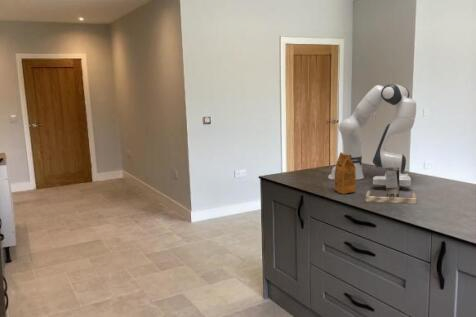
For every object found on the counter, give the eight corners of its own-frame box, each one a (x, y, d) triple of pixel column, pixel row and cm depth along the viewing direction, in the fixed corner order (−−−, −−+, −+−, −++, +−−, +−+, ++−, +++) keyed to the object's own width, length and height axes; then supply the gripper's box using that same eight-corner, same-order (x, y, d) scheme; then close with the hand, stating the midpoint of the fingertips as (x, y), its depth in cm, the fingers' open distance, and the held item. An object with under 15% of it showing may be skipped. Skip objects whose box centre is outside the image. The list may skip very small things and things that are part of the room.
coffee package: (348, 188, 246) (347, 151, 242) (358, 193, 234) (357, 154, 230) (332, 189, 244) (331, 152, 241) (341, 195, 232) (340, 155, 229)
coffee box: (399, 202, 213) (399, 170, 210) (385, 201, 215) (385, 170, 213) (399, 197, 221) (399, 167, 219) (386, 196, 224) (386, 167, 221)
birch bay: (365, 201, 217) (365, 196, 217) (367, 195, 229) (367, 190, 228) (416, 204, 208) (416, 199, 208) (415, 197, 220) (415, 192, 220)
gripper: (373, 172, 246) (371, 177, 234) (411, 173, 239) (411, 179, 226) (373, 183, 247) (371, 188, 235) (410, 184, 240) (410, 190, 227)
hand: (391, 184), depth 230 cm, fingers closed
